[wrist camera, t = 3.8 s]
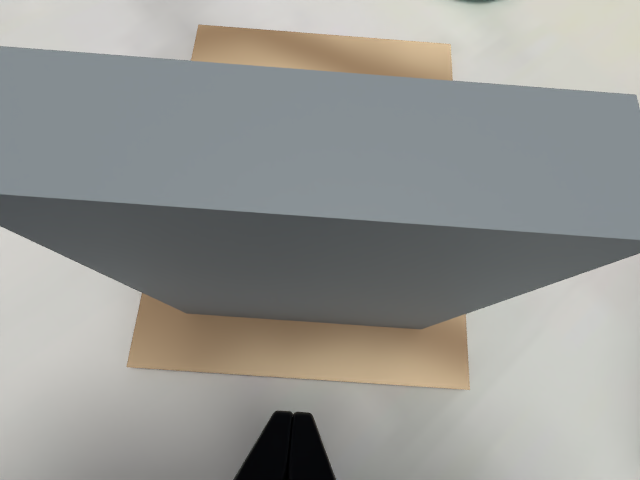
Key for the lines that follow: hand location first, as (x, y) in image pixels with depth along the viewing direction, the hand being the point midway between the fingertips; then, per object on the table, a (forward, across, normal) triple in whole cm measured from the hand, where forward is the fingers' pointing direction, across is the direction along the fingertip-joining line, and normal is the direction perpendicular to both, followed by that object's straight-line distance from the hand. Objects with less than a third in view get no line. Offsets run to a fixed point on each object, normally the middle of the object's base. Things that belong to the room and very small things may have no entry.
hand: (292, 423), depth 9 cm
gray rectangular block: (+8, 0, +2) cm, 8 cm away
